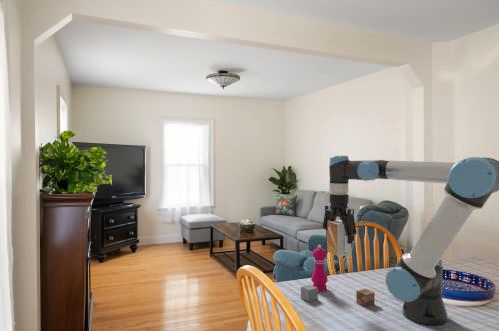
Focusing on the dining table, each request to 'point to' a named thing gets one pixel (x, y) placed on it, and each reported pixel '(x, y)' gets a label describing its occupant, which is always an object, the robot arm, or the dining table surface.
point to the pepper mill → (319, 269)
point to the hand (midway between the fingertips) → (338, 248)
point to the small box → (336, 238)
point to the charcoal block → (309, 293)
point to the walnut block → (365, 297)
